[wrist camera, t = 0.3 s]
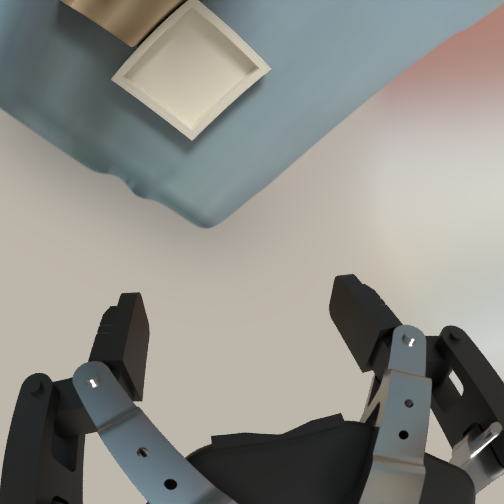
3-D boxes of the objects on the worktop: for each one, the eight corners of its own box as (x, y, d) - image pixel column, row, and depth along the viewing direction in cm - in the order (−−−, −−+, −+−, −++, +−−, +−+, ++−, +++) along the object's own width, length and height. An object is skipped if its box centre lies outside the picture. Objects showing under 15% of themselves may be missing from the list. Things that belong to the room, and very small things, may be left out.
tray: (115, 76, 26) (110, 79, 24) (192, -1, 22) (192, -4, 20) (191, 134, 34) (192, 140, 32) (265, 66, 30) (271, 69, 28)
